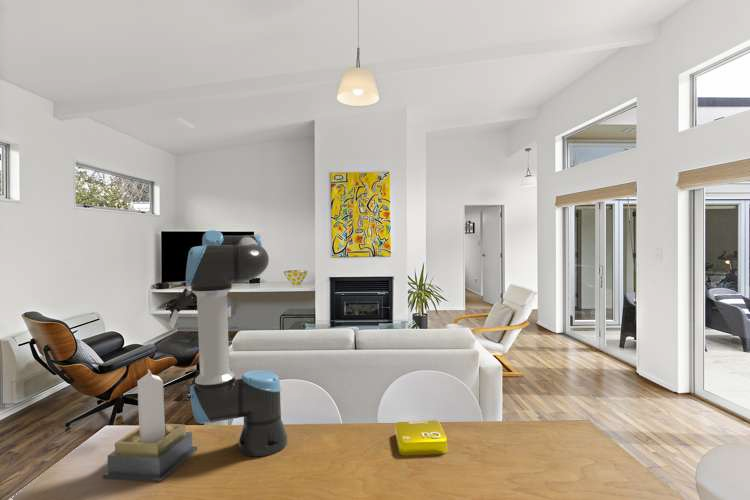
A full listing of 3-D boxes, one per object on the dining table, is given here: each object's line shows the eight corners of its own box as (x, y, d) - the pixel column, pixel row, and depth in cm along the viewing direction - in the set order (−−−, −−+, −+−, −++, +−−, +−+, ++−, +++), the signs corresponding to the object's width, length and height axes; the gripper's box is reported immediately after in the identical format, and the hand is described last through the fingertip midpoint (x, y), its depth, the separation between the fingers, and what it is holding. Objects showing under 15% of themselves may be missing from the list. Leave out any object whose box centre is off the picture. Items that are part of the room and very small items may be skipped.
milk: (143, 450, 124) (139, 375, 123) (139, 442, 129) (136, 370, 128) (166, 443, 128) (162, 370, 127) (162, 436, 132) (158, 366, 131)
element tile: (439, 432, 144) (438, 418, 144) (448, 454, 129) (448, 439, 129) (395, 434, 144) (394, 420, 144) (399, 457, 129) (399, 441, 129)
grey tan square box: (197, 449, 136) (196, 421, 135) (160, 482, 118) (159, 449, 118) (145, 446, 138) (144, 419, 138) (102, 478, 121) (101, 446, 120)
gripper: (240, 285, 169) (226, 331, 155) (179, 287, 171) (159, 332, 156) (234, 273, 164) (219, 320, 149) (171, 274, 165) (150, 321, 151)
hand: (189, 326), depth 153 cm, fingers open, 13 cm apart
